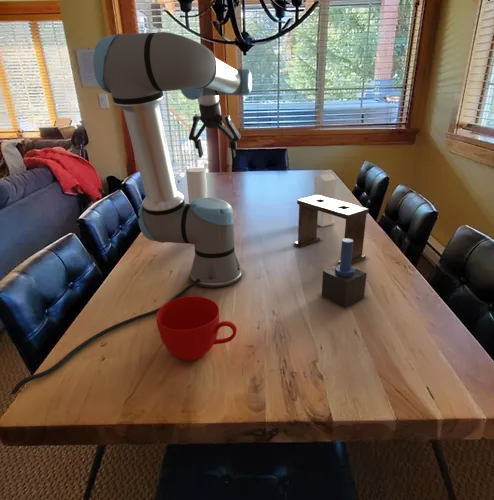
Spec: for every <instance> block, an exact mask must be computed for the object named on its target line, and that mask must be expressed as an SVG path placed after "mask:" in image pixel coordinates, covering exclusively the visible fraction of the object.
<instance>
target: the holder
mask: <svg viewBox="0 0 494 500" xmlns="http://www.w3.org/2000/svg"><path fill="white" fill-rule="evenodd" d="M338 265H340V264H337V265H335V266H332V267H330V268H327V269H325V270H323V271H322V281H321V296H322V297H323V298H325V299H327V300H329V301H331V302H332V303H334V304H336V305H338V306H340V307H342V308H347V307H349V306H351V305H353V304H354V303H356V302H358V301H361V300H363V299H364V298H365V291H366V283H367V276H368V275H367V274H368V273H367V272H365V271H363V270H361V269H358V268H356V267H354V268H355V273H354V275H352V276H341V275H338V274H337V273H336V272H335V267H336V266H338Z"/></svg>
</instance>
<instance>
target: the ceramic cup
mask: <svg viewBox="0 0 494 500" xmlns="http://www.w3.org/2000/svg"><path fill="white" fill-rule="evenodd" d="M169 301H170V300H169ZM169 301H167V302H166V303H164V304H163V305H162V306H160V307H161V308H160V307H159V308H160V309H159V310H158V312H157V313H156V314H155V315H156V317H155V321H156V322H155V323H156V326H157V331H158V334H159V337H160V339H161V341H162V344H163V346H164V347H165V348H166V349H167V351H168V352H169V353H171V354H172V355H173V356H175V357H176V358H178V359H180V360H182V361H186V362H195V361H198V360H199V359H202V358H203V357H204V356H205V355H206V354H207V353H208V352H210V350H211V349H212V347H213V346H214V345H221V344H227V343H229V342H231V341H232V340H234V338H235V337H236V335H237V333H238V329H237V326H236V324H235V323H233V321H230V320H223V321H220V308H219V305H218V303H217V302H216V301H214V300H212V299H210V298H208V297H204V296H200V295H199V296H198V295H191V296H189V295H188V296H180V297H179V298H177V299H174V300H172V301H170V302H169ZM222 327H229V328H230V329H231V330H232V334H231V335H230V336H228V337H225V338H218V335H219V329H221V328H222Z"/></svg>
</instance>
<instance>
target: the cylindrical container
mask: <svg viewBox="0 0 494 500" xmlns="http://www.w3.org/2000/svg"><path fill="white" fill-rule="evenodd" d="M185 173H186V187H187V195H188V196H187V199H188V204H191V202H192V201H193V200H195V199H198V198H209V197H208V183H207V170H206V168H204V167H192V168H191V167H190V168H187V169H185Z"/></svg>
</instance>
